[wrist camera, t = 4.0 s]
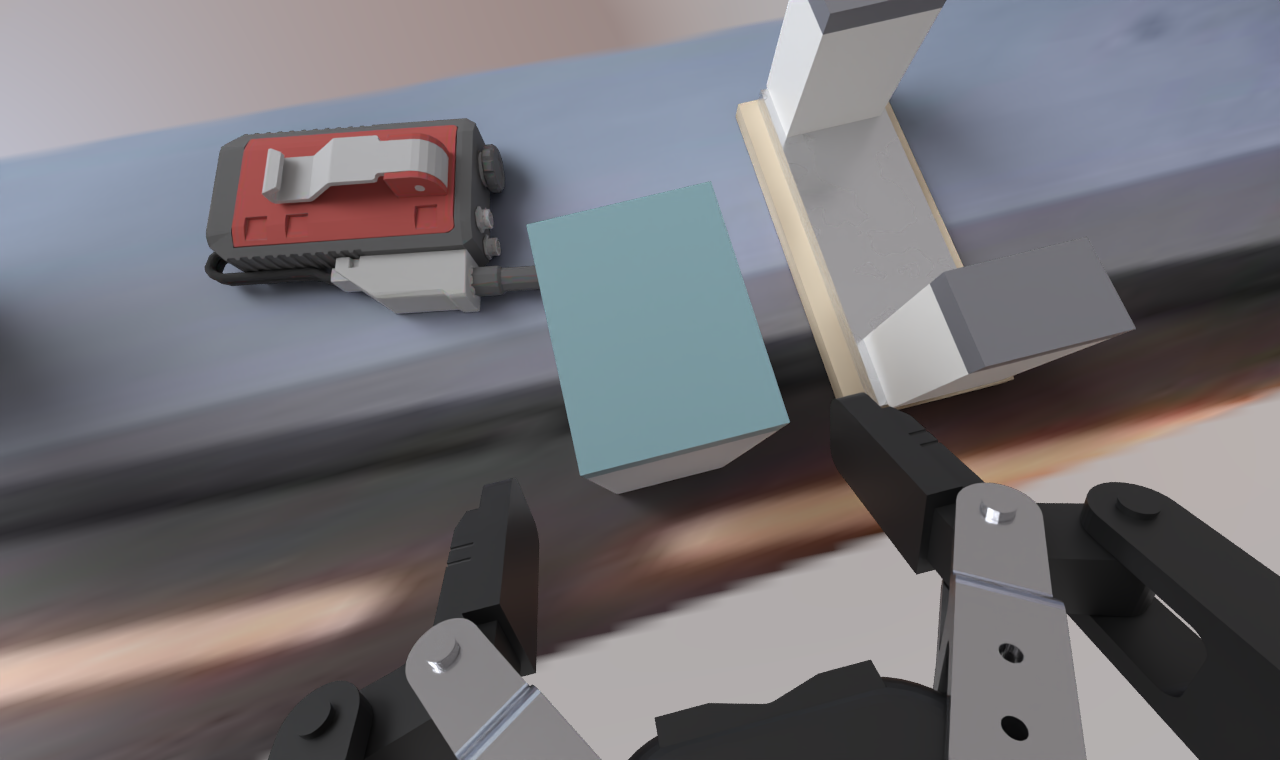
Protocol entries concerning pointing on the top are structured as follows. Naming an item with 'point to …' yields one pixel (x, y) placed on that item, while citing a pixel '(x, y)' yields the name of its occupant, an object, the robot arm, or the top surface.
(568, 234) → the block
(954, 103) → the top surface
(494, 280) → the walkie-talkie
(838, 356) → the wood panel
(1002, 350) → the mounted modules
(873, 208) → the rail
